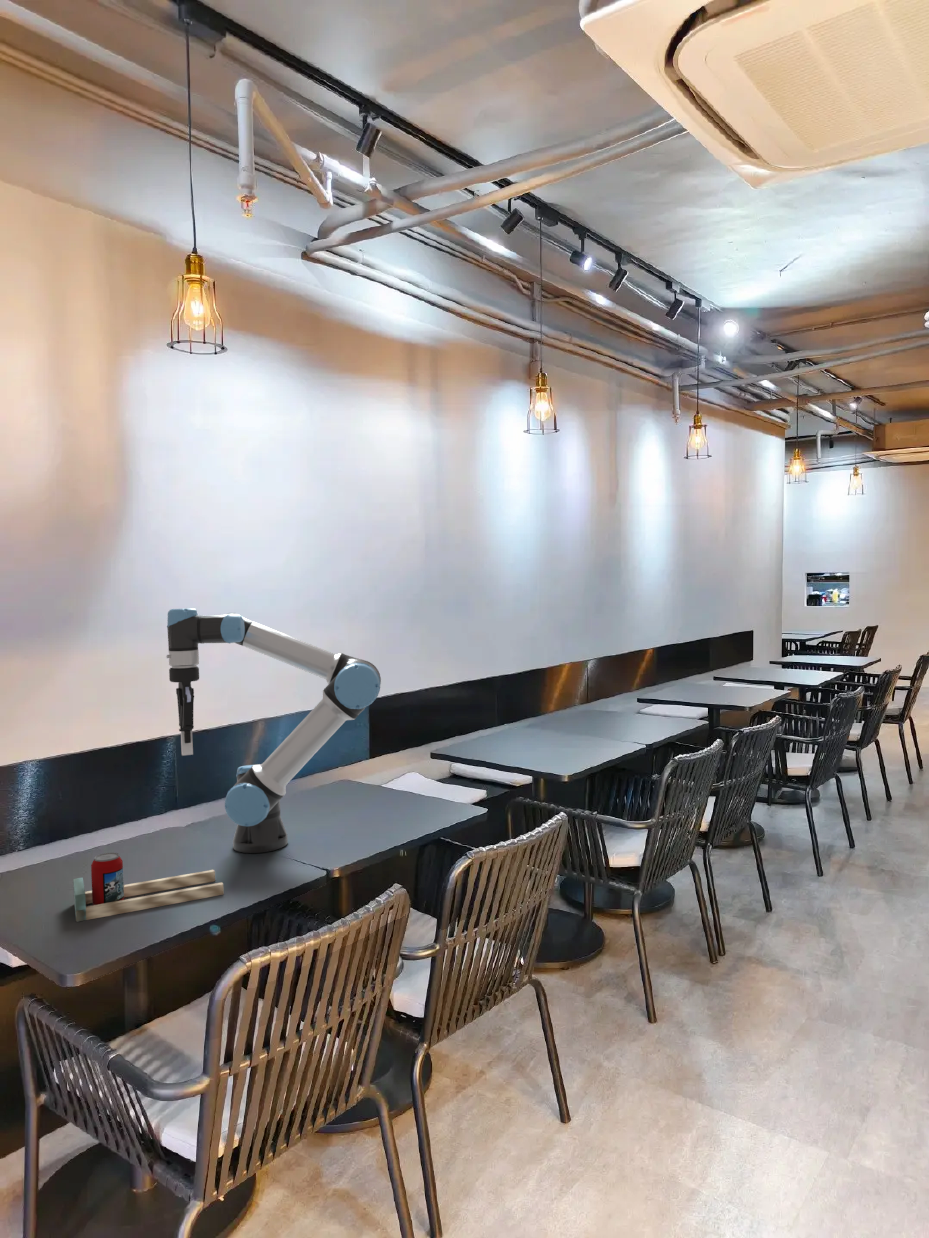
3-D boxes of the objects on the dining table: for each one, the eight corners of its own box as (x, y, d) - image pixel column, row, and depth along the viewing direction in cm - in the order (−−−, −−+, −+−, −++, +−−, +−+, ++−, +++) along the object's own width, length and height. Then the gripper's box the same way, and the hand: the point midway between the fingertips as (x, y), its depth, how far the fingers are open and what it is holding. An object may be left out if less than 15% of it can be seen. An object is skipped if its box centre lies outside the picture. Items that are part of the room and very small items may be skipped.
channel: (214, 879, 209) (213, 855, 209) (223, 894, 199) (222, 869, 198) (74, 904, 195) (73, 878, 194) (76, 921, 184) (75, 895, 184)
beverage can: (115, 913, 189) (113, 860, 188) (86, 912, 189) (84, 860, 189) (129, 901, 195) (127, 851, 195) (101, 901, 196) (100, 851, 195)
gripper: (165, 665, 224) (169, 752, 225) (172, 669, 213) (176, 760, 214) (194, 663, 228) (197, 749, 229) (203, 667, 216) (206, 757, 217)
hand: (187, 754), depth 221 cm, fingers closed
